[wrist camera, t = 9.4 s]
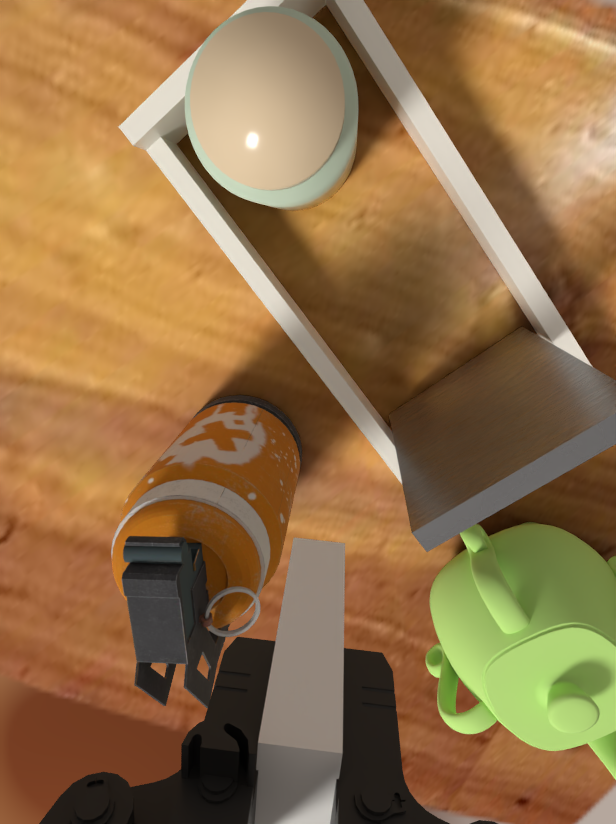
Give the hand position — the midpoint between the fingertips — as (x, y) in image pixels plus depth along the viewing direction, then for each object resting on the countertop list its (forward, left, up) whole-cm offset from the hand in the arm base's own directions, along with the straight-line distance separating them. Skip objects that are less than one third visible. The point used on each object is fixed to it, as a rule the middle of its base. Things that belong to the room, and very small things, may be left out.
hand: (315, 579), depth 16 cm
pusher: (+6, +7, -24) cm, 25 cm away
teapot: (+23, +1, -24) cm, 34 cm away
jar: (-14, +7, -24) cm, 28 cm away
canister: (+1, -10, -24) cm, 26 cm away
